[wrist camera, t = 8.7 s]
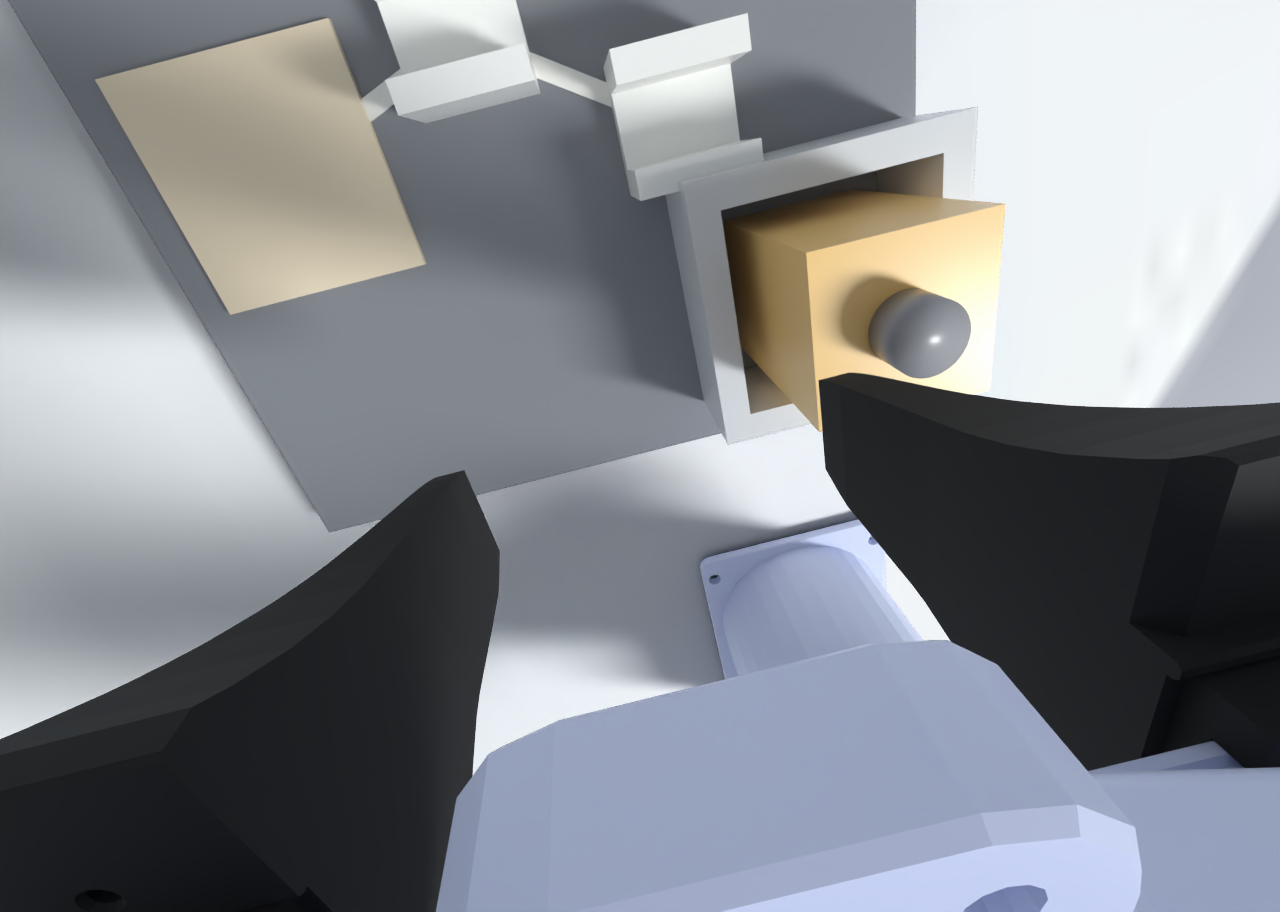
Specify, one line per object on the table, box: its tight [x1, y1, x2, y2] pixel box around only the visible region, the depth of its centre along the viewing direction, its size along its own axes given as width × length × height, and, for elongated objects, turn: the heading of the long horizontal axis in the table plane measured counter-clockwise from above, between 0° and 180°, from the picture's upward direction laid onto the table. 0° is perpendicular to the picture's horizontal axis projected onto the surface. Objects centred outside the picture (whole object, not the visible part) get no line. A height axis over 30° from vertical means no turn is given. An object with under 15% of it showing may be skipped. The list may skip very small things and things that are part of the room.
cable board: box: [8, 0, 978, 532], centre depth 16 cm, size 16×22×4 cm
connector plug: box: [723, 189, 1005, 432], centre depth 15 cm, size 4×4×8 cm
